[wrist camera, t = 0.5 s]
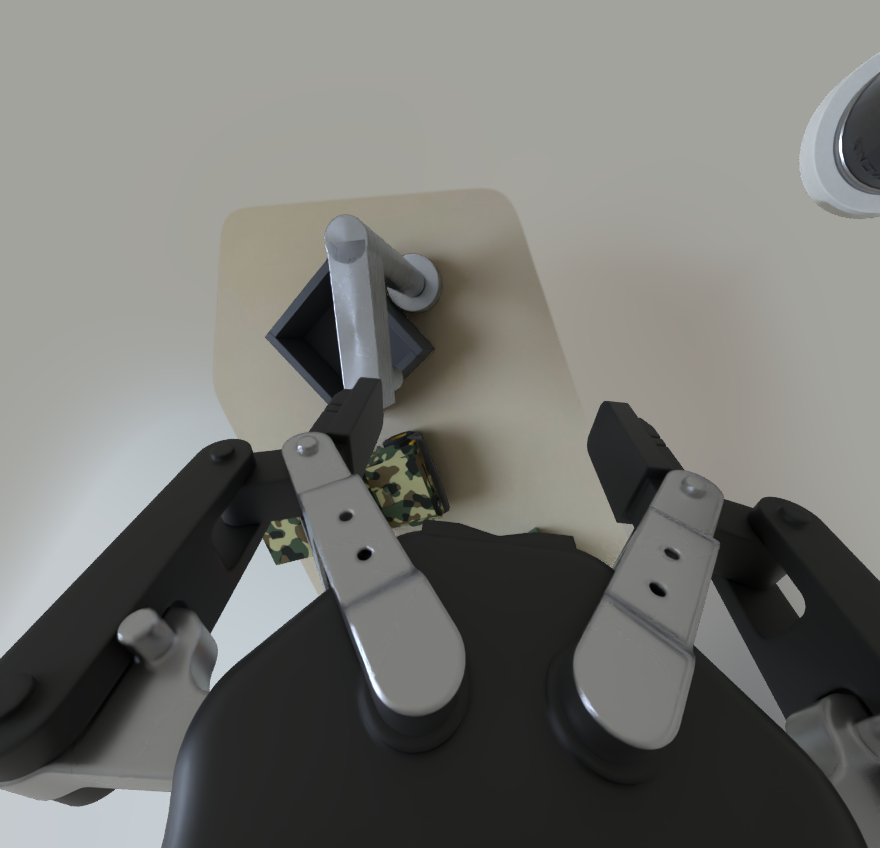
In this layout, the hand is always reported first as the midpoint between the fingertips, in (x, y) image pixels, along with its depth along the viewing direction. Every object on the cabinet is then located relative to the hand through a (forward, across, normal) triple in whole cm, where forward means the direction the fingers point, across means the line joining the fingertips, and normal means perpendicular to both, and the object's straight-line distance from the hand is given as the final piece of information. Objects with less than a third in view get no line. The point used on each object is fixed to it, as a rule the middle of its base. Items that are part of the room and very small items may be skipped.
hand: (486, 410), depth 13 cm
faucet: (+22, +6, +5) cm, 23 cm away
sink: (+24, +12, +8) cm, 27 cm away
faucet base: (+25, +6, +2) cm, 26 cm away
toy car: (+18, +11, +23) cm, 31 cm away
